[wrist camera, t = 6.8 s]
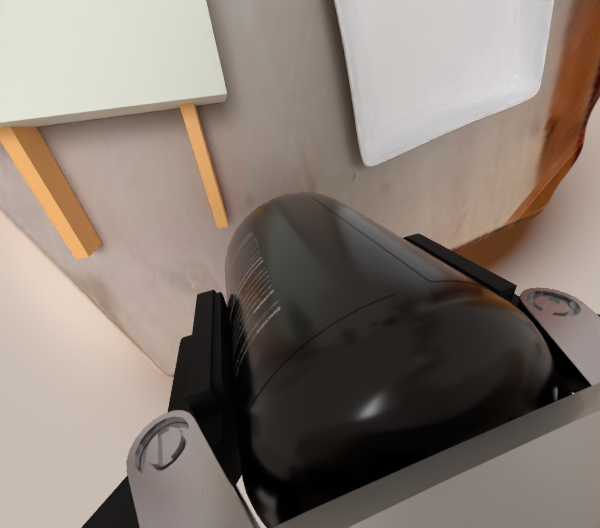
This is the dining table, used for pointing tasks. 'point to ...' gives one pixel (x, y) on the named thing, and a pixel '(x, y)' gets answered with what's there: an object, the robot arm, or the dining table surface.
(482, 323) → the supplement bottle
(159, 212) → the dining table surface
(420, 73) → the salad plate
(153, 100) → the block with grey puck
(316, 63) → the dining table surface
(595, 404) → the robot arm
